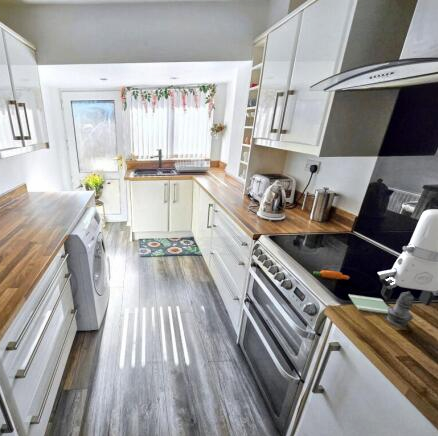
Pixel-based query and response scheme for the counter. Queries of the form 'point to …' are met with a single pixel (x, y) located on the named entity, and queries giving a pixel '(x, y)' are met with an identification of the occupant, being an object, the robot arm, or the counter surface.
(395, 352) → the counter surface
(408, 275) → the robot arm
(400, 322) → the grey chess piece
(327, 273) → the carrot
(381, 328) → the counter surface
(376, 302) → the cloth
